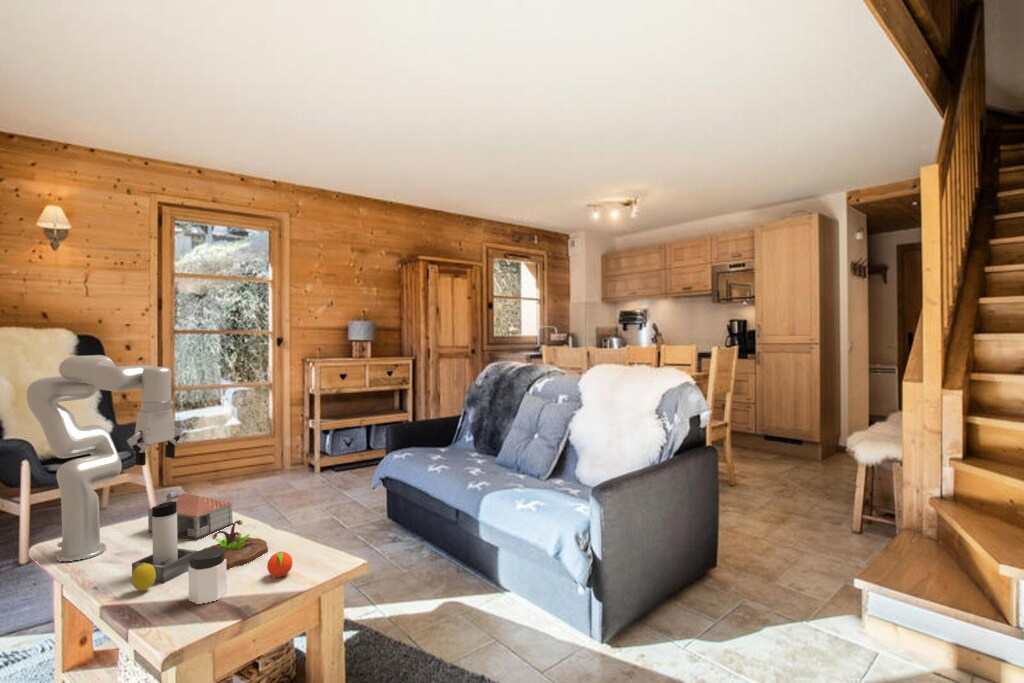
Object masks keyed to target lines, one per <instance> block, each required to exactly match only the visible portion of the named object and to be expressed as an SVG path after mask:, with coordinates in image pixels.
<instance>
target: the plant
mask: <svg viewBox="0 0 1024 683" xmlns="http://www.w3.org/2000/svg"><path fill="white" fill-rule="evenodd" d="M243 522H244V521H243V520H240V519H239V520H236V521H234V522H233V526H231V527H230V533H228V532H227V531H224V530H222V531H219V532H217V533H215V534H212V535H211V536H212V537H211V538H212V539H213V540H216V542H218V543H216V544H213V545H209V546H208V547H204V548H203V549H207V548H222V549H224V558H225V559H226V569H230V568H232V569H234V568H236V567H235V566H237V567H240V566H239V565H241V566H245V565H244V564H246V565H248V564H250V563H252V562H254V561H256V560H257V559H256V558H258V557H260V556H262V555H263V554H265V553H267V552H268V553H269V547H268V543H267V541H265V540H263V539H261V538H258V537H256V538H254V537H250V536H251V533H250V534H246V535H245V536H242V533H240V532H239V531H236V532H235V528H236V527H235V526H236V524H237V526H238V525H239V526H241V525H242V524H243ZM218 534H223V535H224V536H223V539H221V538H217V537H218ZM268 553H267V554H268ZM262 557H263V556H262ZM260 558H261V557H260ZM255 559H256V560H255ZM258 559H259V558H258ZM253 560H254V561H253ZM251 561H252V562H251ZM249 562H250V563H249ZM247 563H248V564H247ZM233 567H234V568H233ZM230 570H231V569H230Z"/></svg>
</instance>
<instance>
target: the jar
mask: <svg viewBox="0 0 1024 683" xmlns="http://www.w3.org/2000/svg"><path fill="white" fill-rule="evenodd" d="M206 548H207V547H206ZM196 551H197V552H195V553H193V554H192V555H191V556H190V566H189V567H188V571H187V572H188V600H189V602H191V601H192V602H191V603H193V602H195V603H196V604H195V603H194V604H195V605H197V604H201V605H203V604H202V603H205V604H209V603H212V601H214V602H217V601H216V600H218V599H219V600H220V599H221V598H222V597H223V596H225V595H226V594H227V593H228V584H227V582H228V581H227V580H228V577H227V571H228V570H227V569H226V559H225V558H224V549H222V548H207V549H204V548H203V549H200V550H196ZM219 600H218V601H219ZM208 602H209V603H208Z"/></svg>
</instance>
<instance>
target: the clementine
mask: <svg viewBox="0 0 1024 683" xmlns="http://www.w3.org/2000/svg"><path fill="white" fill-rule="evenodd" d="M293 562H294V561H293V557H292V555H291V554H289V553H288V552H287V551H277V552H275V553H273V554H272V556H270V557H269V559H268V560H267V566H266V569H267V572H268V573H269V574H270V575H271V576H272V577H274V578H281V577H284V576H285V575H287V574H288V573H289V572H290V571H291V570H292V567H293Z"/></svg>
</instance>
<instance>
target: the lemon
mask: <svg viewBox="0 0 1024 683" xmlns="http://www.w3.org/2000/svg"><path fill="white" fill-rule="evenodd" d="M155 578H156V572H155V568H154V567H153V566H152V565H151V564H147V563H142V564H141V565H139V566H138V567H137V568H136V569H135V570H134V572H133V574H132V573H131V585H132V587H133V588H134V589H135V590H137V591H141V592H145V591H147V590H148V589H149V588H150V587H152V586H153V585H154V583H155V582H154V581H155Z"/></svg>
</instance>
